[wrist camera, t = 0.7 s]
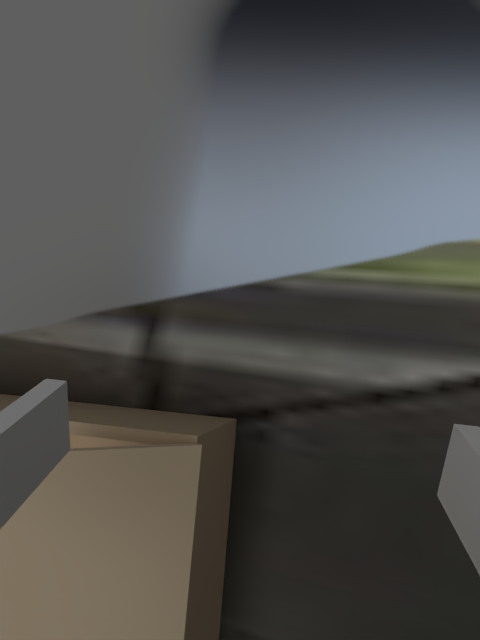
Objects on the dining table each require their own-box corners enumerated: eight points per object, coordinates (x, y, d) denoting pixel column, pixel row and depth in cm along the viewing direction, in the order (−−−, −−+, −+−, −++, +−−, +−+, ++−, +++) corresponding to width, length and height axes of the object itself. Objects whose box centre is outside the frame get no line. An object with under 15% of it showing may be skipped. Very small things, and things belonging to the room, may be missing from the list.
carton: (218, 639, 34) (165, 774, 22) (-61, 578, 40) (-220, 660, 28) (237, 419, 36) (197, 436, 25) (-29, 390, 42) (-163, 394, 30)
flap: (165, 767, 22) (171, 776, 22) (-193, 979, 14) (-197, 1001, 13) (196, 443, 25) (201, 445, 24) (-95, 455, 16) (-96, 458, 16)
